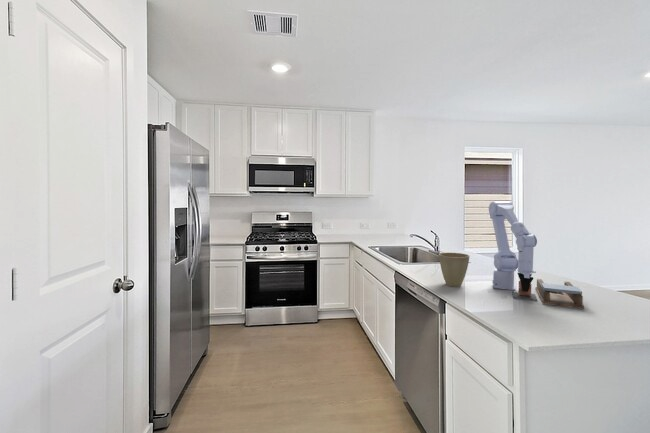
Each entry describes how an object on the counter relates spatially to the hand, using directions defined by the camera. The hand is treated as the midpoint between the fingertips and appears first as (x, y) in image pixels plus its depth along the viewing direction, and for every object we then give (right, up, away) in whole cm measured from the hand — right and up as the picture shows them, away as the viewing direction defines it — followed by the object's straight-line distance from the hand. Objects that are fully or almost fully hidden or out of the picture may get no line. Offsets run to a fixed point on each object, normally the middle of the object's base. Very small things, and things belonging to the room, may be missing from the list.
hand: (524, 290), depth 143 cm
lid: (+11, +2, -8) cm, 13 cm away
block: (0, -2, 0) cm, 2 cm away
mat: (0, -3, 0) cm, 3 cm away
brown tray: (+14, -3, -2) cm, 14 cm away
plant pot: (-24, -2, +21) cm, 32 cm away
